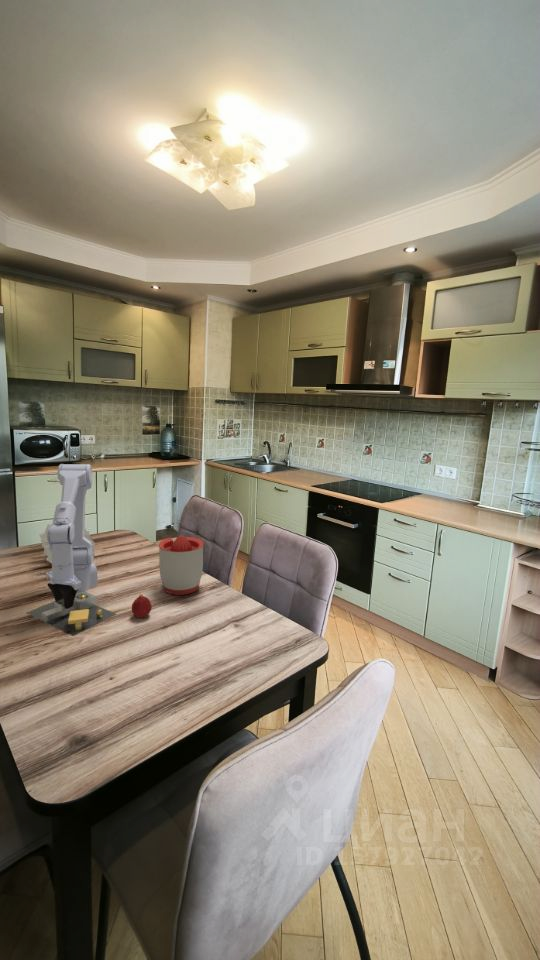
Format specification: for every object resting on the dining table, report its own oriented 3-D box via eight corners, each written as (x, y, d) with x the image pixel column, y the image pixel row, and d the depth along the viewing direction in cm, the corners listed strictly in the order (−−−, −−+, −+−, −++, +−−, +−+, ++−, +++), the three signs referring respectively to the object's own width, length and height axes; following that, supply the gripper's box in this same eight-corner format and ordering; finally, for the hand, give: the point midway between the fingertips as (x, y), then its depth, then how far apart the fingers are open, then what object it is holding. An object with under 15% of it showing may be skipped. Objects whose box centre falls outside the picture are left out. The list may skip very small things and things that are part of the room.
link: (83, 600, 135) (83, 589, 135) (96, 605, 132) (96, 594, 132) (37, 616, 122) (38, 605, 122) (50, 622, 119) (51, 611, 119)
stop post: (99, 615, 126) (99, 608, 126) (103, 616, 126) (103, 609, 125) (95, 617, 125) (95, 610, 125) (98, 618, 124) (98, 612, 124)
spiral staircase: (74, 561, 180) (86, 579, 159) (31, 550, 170) (38, 568, 149) (92, 522, 182) (106, 534, 162) (50, 508, 172) (59, 520, 151)
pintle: (83, 603, 133) (83, 593, 132) (87, 605, 132) (87, 595, 131) (77, 606, 131) (77, 595, 131) (81, 607, 130) (81, 597, 130)
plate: (70, 596, 139) (70, 594, 139) (117, 616, 127) (116, 614, 127) (26, 615, 126) (25, 612, 126) (73, 638, 115) (73, 635, 115)
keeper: (70, 621, 122) (70, 611, 122) (89, 618, 124) (88, 609, 123) (68, 631, 117) (68, 621, 116) (87, 629, 118) (87, 618, 118)
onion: (155, 616, 128) (155, 592, 127) (142, 624, 123) (142, 599, 122) (141, 611, 131) (140, 588, 129) (127, 620, 126) (127, 595, 124)
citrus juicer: (199, 576, 160) (199, 526, 156) (206, 595, 144) (207, 540, 140) (157, 579, 155) (156, 528, 151) (160, 600, 139) (159, 543, 135)
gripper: (35, 561, 124) (37, 604, 126) (65, 573, 117) (67, 617, 119) (57, 555, 130) (59, 595, 132) (87, 565, 123) (89, 608, 125)
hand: (64, 605), depth 126 cm, fingers closed on link, 4 cm apart
